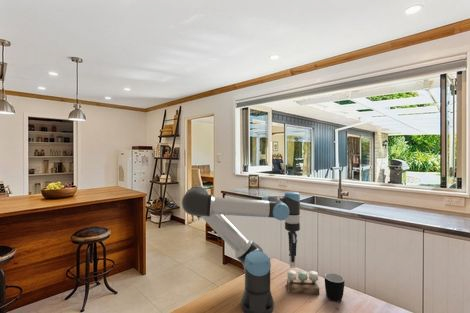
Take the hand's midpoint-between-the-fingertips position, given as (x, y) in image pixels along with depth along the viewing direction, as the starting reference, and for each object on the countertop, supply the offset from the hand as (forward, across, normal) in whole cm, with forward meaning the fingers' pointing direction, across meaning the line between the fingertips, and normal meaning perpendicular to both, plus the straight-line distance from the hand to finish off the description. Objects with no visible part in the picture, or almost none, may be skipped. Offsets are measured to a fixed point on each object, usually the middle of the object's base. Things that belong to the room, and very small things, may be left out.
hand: (292, 267), depth 129 cm
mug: (+12, -5, -19) cm, 23 cm away
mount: (+12, 0, -5) cm, 13 cm away
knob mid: (+8, 0, -5) cm, 10 cm away
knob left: (+8, 0, 0) cm, 8 cm away
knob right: (+8, 0, -11) cm, 13 cm away
